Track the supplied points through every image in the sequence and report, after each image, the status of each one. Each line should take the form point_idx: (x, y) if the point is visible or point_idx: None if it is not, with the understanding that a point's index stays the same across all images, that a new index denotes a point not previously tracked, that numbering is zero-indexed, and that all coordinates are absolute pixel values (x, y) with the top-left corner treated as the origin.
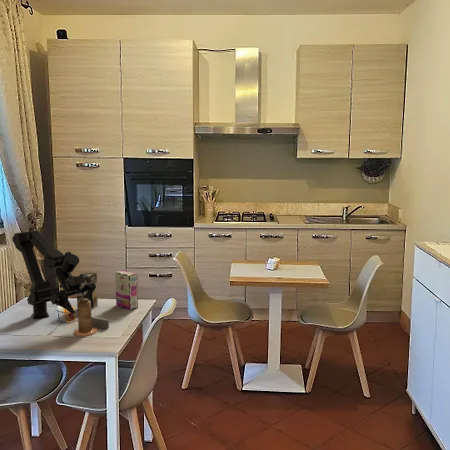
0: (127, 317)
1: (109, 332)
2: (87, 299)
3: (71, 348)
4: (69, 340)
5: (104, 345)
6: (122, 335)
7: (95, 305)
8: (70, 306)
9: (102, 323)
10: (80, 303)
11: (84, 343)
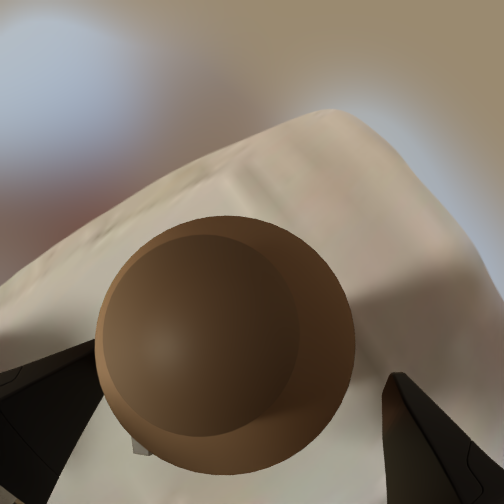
0: (35, 311)
1: None
2: (153, 259)
3: (449, 239)
4: (410, 334)
5: (336, 155)
6: (209, 173)
7: (18, 499)
8: (445, 427)
9: None
10: (330, 320)
11: (384, 235)
